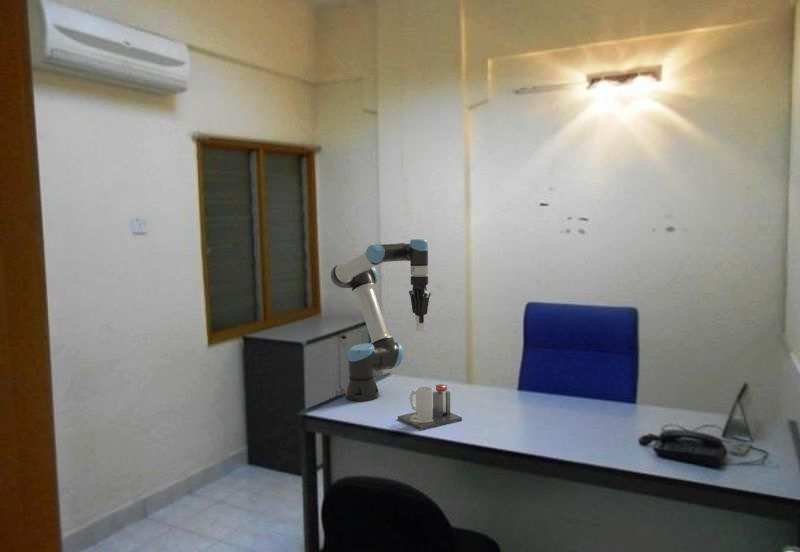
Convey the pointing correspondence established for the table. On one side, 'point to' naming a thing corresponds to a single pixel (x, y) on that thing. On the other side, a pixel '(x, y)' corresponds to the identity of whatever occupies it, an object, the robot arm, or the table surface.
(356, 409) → the table surface
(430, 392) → the mug
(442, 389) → the red-capped tube
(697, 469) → the table surface
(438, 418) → the dark grey holder stand
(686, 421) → the table surface
